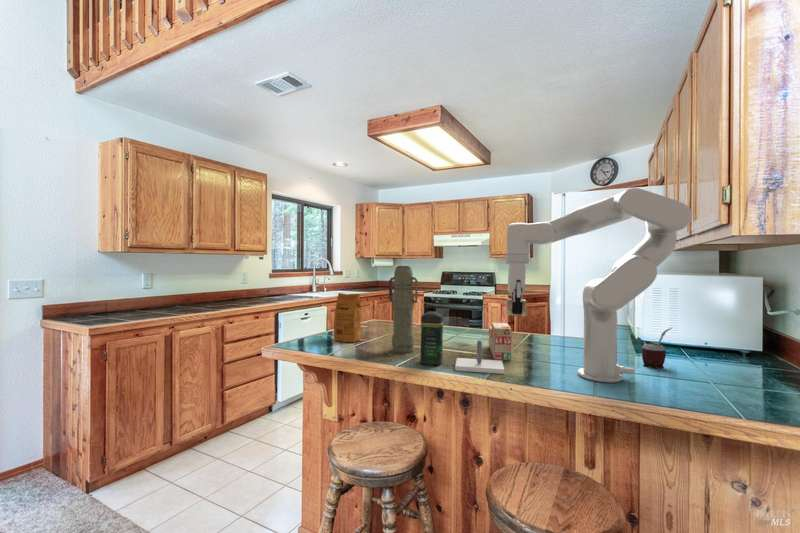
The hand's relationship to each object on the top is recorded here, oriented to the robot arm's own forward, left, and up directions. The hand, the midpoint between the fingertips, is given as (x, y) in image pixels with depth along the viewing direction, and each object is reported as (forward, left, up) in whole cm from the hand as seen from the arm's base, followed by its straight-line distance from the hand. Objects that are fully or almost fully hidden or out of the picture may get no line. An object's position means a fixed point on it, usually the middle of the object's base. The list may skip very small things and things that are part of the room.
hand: (516, 312), depth 126 cm
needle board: (+12, 0, -20) cm, 23 cm away
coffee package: (+72, -30, -20) cm, 81 cm away
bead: (0, 0, -1) cm, 1 cm away
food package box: (+4, -23, -20) cm, 31 cm away
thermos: (+43, -17, -20) cm, 51 cm away
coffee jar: (+29, -2, -20) cm, 35 cm away
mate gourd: (-49, -15, -20) cm, 55 cm away
